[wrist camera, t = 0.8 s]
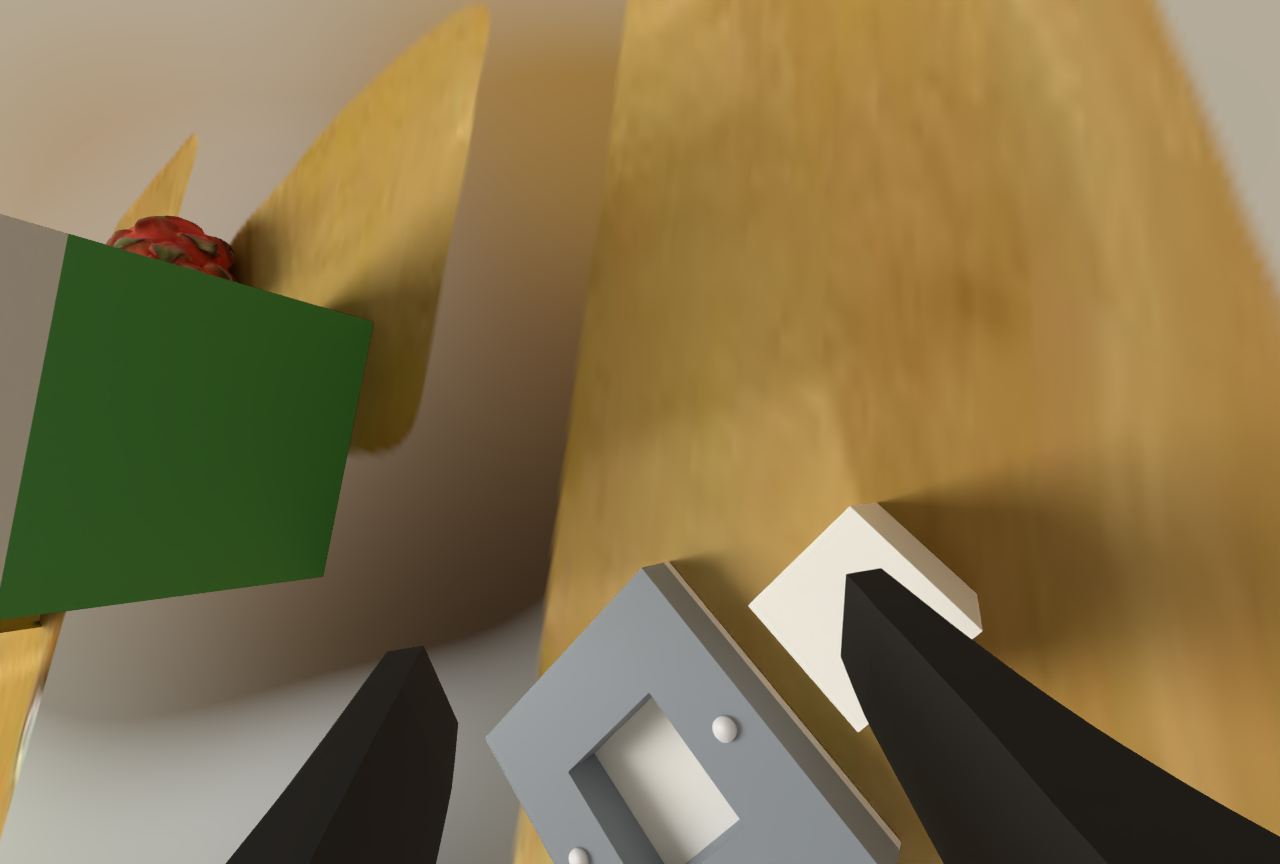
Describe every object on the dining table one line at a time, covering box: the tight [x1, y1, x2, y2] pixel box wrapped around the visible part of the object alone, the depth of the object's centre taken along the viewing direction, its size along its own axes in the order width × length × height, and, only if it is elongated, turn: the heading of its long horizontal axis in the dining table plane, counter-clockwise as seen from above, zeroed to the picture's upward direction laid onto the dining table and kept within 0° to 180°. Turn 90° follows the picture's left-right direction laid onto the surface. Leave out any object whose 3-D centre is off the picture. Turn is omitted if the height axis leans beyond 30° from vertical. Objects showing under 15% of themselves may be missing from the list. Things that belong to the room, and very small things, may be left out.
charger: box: [748, 503, 983, 732], centre depth 18 cm, size 4×4×6 cm
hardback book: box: [0, 214, 374, 620], centre depth 29 cm, size 18×7×24 cm, turn 169°
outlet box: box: [485, 561, 901, 864], centre depth 23 cm, size 13×12×3 cm
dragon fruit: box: [106, 216, 237, 282], centre depth 46 cm, size 8×8×12 cm
